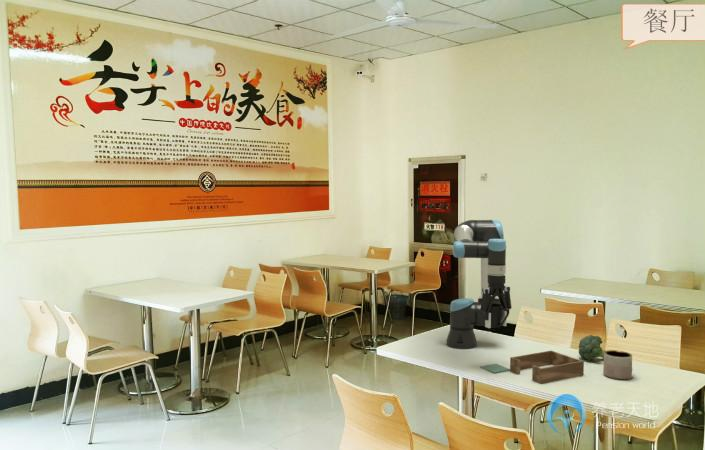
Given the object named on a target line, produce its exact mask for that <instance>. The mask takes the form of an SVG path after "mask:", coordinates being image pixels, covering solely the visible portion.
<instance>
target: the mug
mask: <svg viewBox="0 0 705 450" xmlns="http://www.w3.org/2000/svg"><path fill="white" fill-rule="evenodd" d="M503 309H504V310H506V311H507V314H506V317H505V318H504V320H503V322H502V323H501V319H502V314H503ZM489 313H491V328H492V329H496V328H500V327H502V326H503V324H504V322H505V321H506V322H507V318H508V317H509V315H510V310H509V309H507V308H503V305H502V304H497V303H492V306H491V309H490V312H489ZM491 328H490V329H491Z"/></svg>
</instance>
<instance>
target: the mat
mask: <svg viewBox="0 0 705 450" xmlns="http://www.w3.org/2000/svg"><path fill="white" fill-rule="evenodd" d="M479 367H480V369H482V370H485V371H487V372H490V373H491V374H498V373H499V374H500V373H504V372H511V371H510V368H507V367H505V366H504V365H501V364H498V363H492V364H487V365H480V366H479Z"/></svg>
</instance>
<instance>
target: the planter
mask: <svg viewBox="0 0 705 450" xmlns="http://www.w3.org/2000/svg"><path fill="white" fill-rule="evenodd" d="M602 369H603V371H602V372H603V375H604V376H605V377H607V378H609V379H613V380H617V379H618V380H619V381H625V380H626V381H627V380H631V378H632V377H633V355H632V353H629V352H627V351H622V350H614V349H612V350H611V349H610V350H606V351H605V352H604V359H603V368H602Z"/></svg>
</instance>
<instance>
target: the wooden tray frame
mask: <svg viewBox="0 0 705 450" xmlns="http://www.w3.org/2000/svg"><path fill="white" fill-rule="evenodd" d="M509 359H510V360H509V361H510V362H509V369H510V371H509V372H511V373H514V374H516V375H521V371H523V370H530V369H531V370H532V372H531V373H532V374H531V376H532V377H531V378H532V379H531V380H532V381H533V382H535V383H538V384H541V385H542V384H546V383H552V382H557V381H562V380H568V379H572V378H577V377H581V376H585V375H584V371H585V369H584V368H585V365H584V364H585V361H584V360H581V359H578V358H575V357H572V356H569V355H566V354H563V353H560V352H556V351H553V350H547V351H541V352H534V353H530V354H523V355H518V356H511V357H510V358H509ZM545 366H547V367H545Z"/></svg>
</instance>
